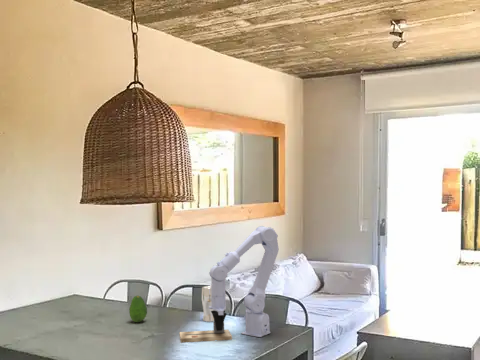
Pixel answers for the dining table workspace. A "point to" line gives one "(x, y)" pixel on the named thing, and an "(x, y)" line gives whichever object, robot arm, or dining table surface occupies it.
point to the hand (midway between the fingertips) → (218, 329)
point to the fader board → (204, 336)
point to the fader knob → (216, 330)
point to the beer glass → (207, 304)
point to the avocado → (138, 309)
